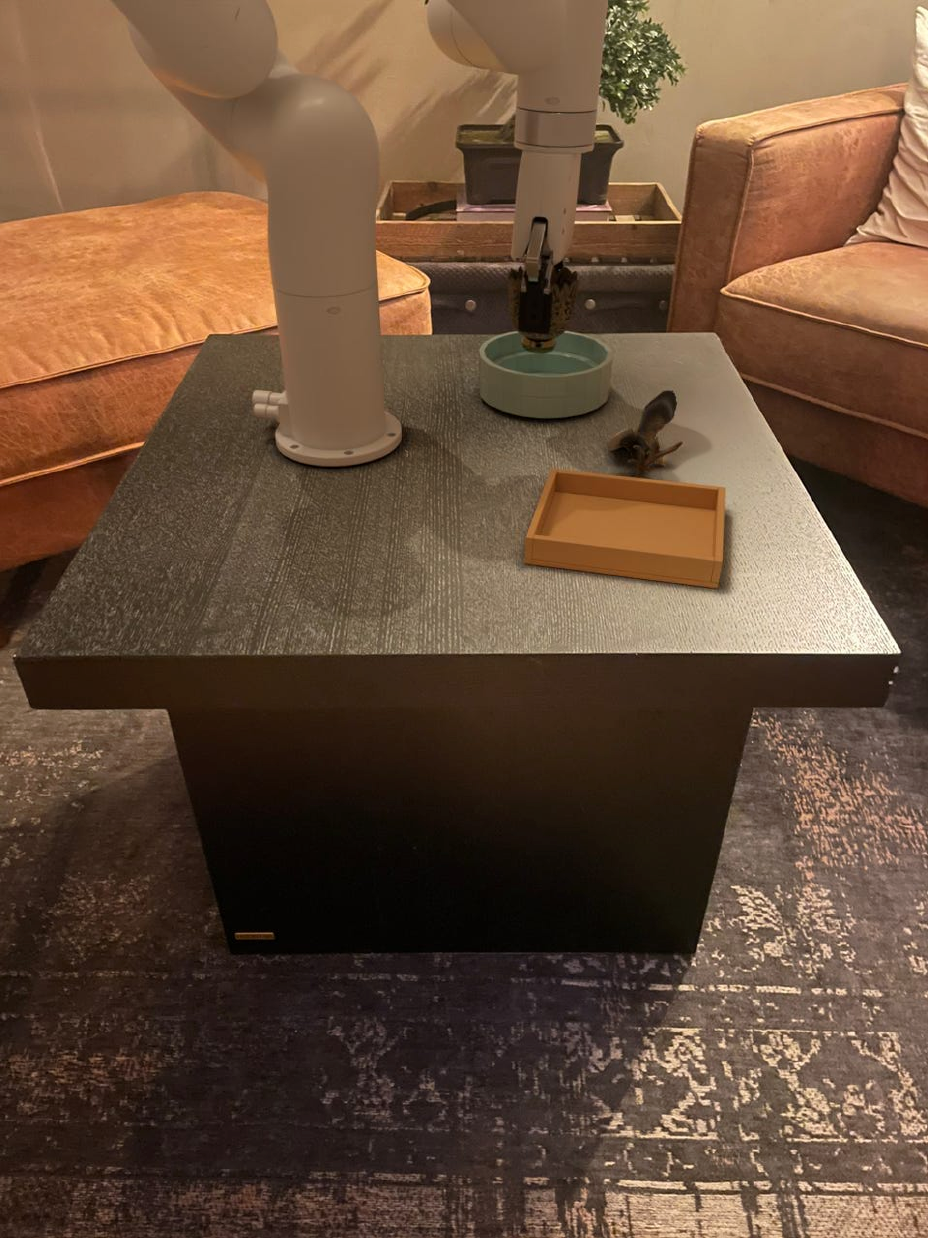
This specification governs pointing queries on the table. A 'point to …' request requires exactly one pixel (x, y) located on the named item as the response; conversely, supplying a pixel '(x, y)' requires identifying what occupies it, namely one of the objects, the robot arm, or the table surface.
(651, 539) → the tray
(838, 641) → the table surface
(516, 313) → the cup
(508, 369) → the bowl
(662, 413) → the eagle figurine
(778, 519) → the table surface
